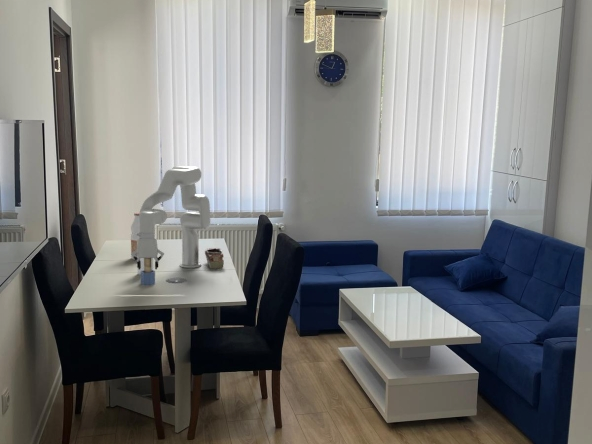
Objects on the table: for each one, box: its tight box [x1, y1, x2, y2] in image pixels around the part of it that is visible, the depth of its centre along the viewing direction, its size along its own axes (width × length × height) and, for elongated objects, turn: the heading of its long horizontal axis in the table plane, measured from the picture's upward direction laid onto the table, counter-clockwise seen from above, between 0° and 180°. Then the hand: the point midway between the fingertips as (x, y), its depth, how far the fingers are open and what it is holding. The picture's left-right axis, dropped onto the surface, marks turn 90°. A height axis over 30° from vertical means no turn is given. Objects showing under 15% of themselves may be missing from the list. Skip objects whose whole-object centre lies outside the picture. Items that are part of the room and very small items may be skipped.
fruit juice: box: [130, 212, 140, 261], centre depth 372 cm, size 9×9×28 cm
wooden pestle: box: [144, 258, 152, 273], centre depth 317 cm, size 4×4×18 cm
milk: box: [137, 241, 154, 275], centre depth 336 cm, size 6×6×22 cm
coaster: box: [165, 277, 188, 284], centre depth 325 cm, size 11×11×1 cm
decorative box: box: [204, 247, 225, 270], centre depth 361 cm, size 13×20×10 cm, turn 11°
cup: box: [140, 269, 156, 286], centre depth 318 cm, size 7×7×7 cm
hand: (147, 268), depth 317 cm, fingers open, 7 cm apart
